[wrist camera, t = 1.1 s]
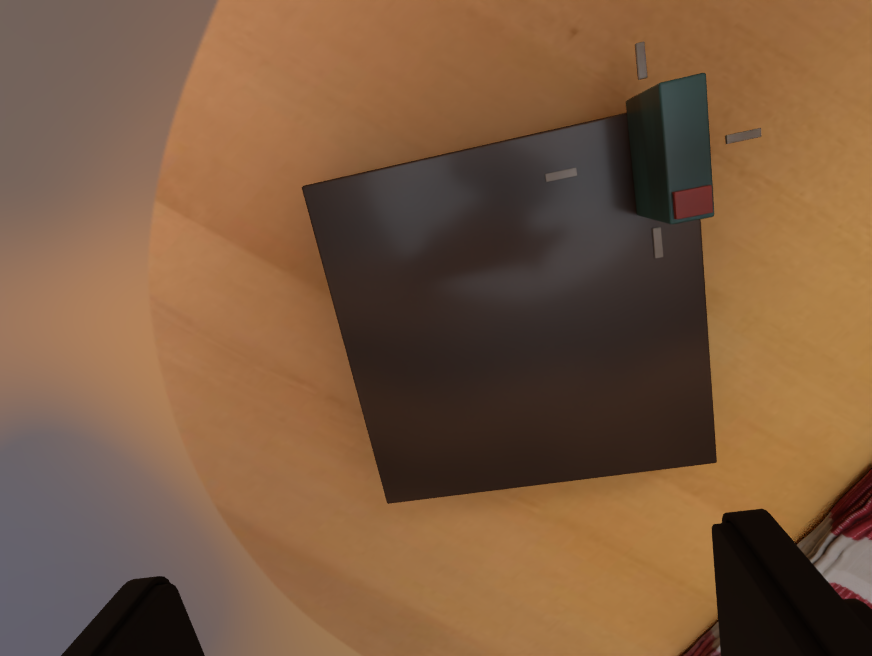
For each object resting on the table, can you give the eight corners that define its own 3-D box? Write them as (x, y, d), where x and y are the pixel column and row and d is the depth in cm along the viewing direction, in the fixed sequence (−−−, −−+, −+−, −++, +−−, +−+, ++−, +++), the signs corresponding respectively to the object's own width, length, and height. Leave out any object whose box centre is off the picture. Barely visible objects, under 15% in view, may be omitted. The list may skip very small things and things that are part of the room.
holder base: (306, 134, 27) (284, 129, 24) (722, 34, 24) (757, 13, 21) (395, 474, 32) (386, 506, 29) (742, 428, 29) (772, 458, 26)
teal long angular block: (625, 100, 22) (660, 81, 18) (663, 91, 22) (709, 70, 17) (636, 215, 23) (672, 225, 19) (672, 208, 23) (717, 217, 19)
